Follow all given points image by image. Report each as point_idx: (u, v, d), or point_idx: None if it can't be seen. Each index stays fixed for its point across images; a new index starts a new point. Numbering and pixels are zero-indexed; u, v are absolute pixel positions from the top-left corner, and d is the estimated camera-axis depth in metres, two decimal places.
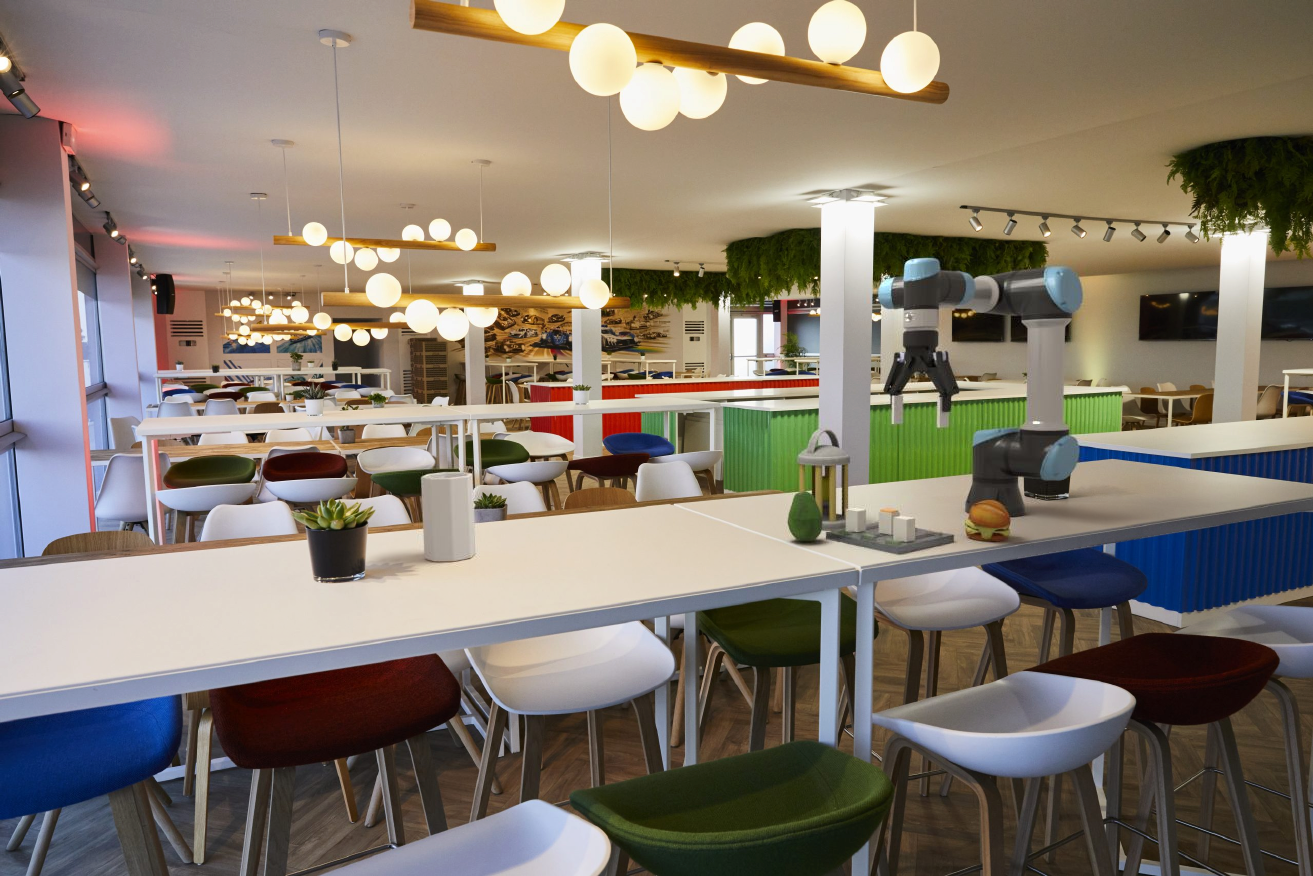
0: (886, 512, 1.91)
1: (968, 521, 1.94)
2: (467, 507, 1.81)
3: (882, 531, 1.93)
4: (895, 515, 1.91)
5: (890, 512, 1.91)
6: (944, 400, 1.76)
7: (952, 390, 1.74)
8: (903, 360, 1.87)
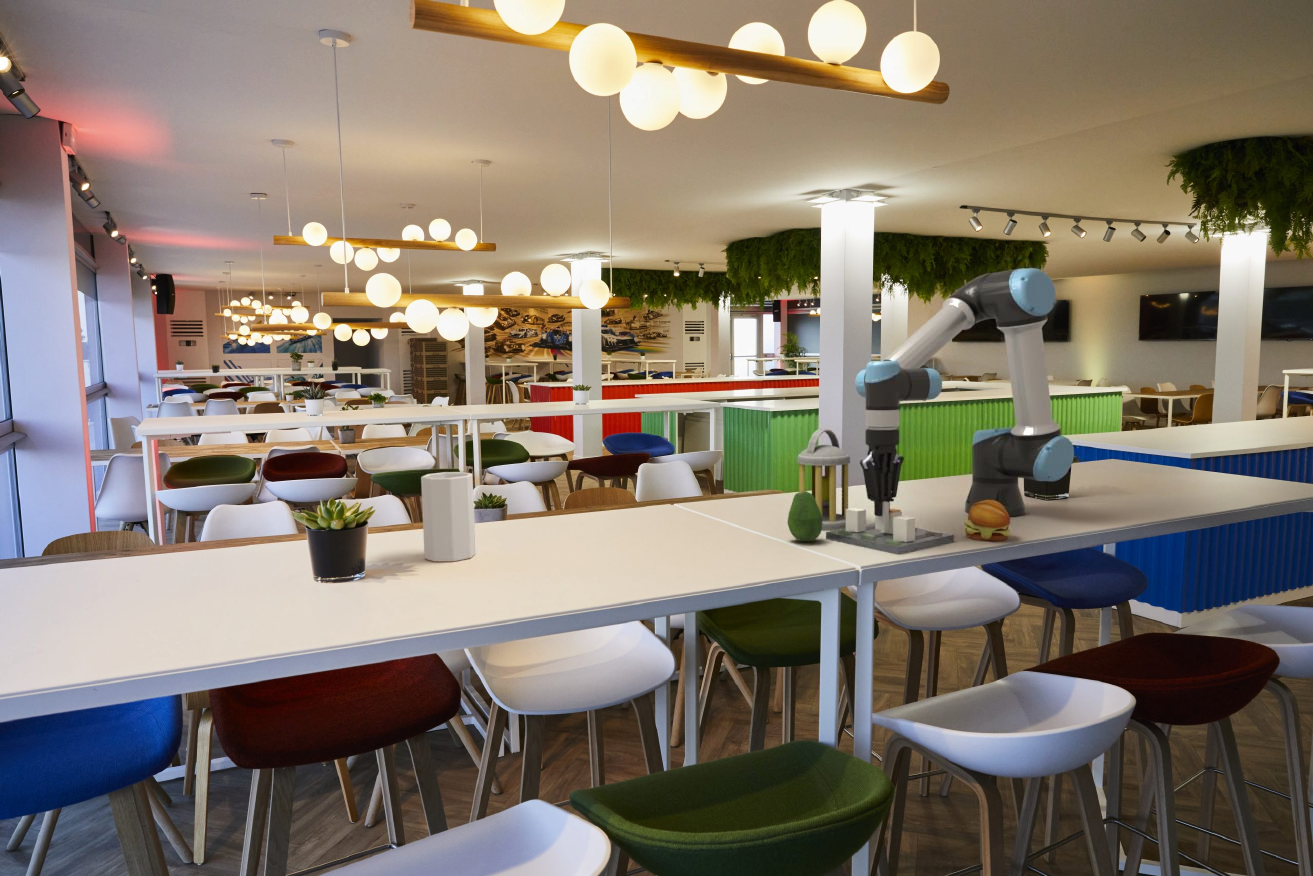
0: None
1: (968, 521, 1.94)
2: (467, 507, 1.81)
3: (884, 531, 1.93)
4: (897, 515, 1.92)
5: (892, 512, 1.91)
6: None
7: (868, 498, 1.89)
8: None
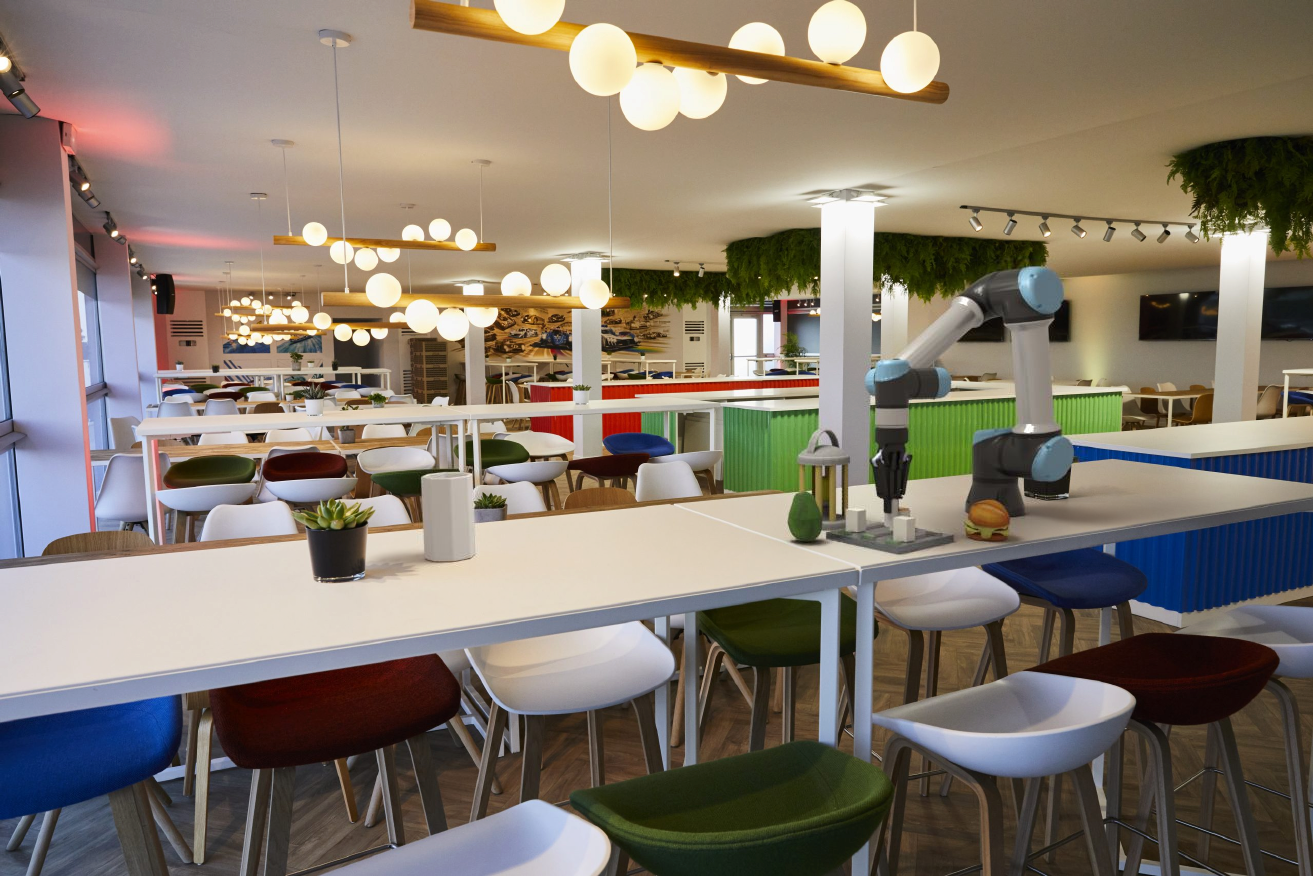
0: None
1: (968, 521, 1.94)
2: (467, 507, 1.81)
3: None
4: (906, 513, 1.93)
5: (901, 510, 1.93)
6: None
7: (878, 495, 1.91)
8: None
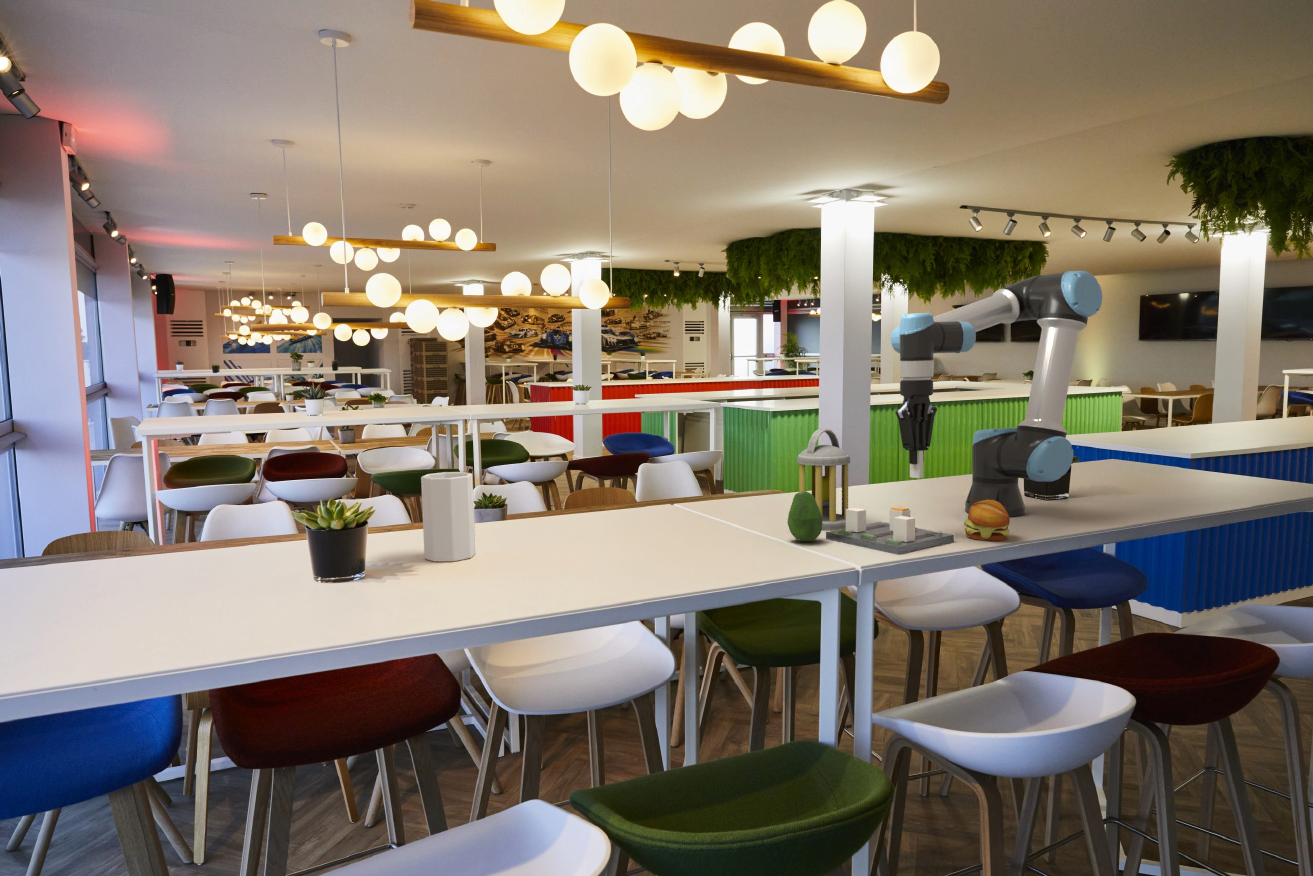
0: (897, 510, 1.94)
1: (967, 521, 1.95)
2: (467, 507, 1.81)
3: None
4: (906, 513, 1.93)
5: (901, 510, 1.93)
6: None
7: (903, 447, 1.95)
8: None
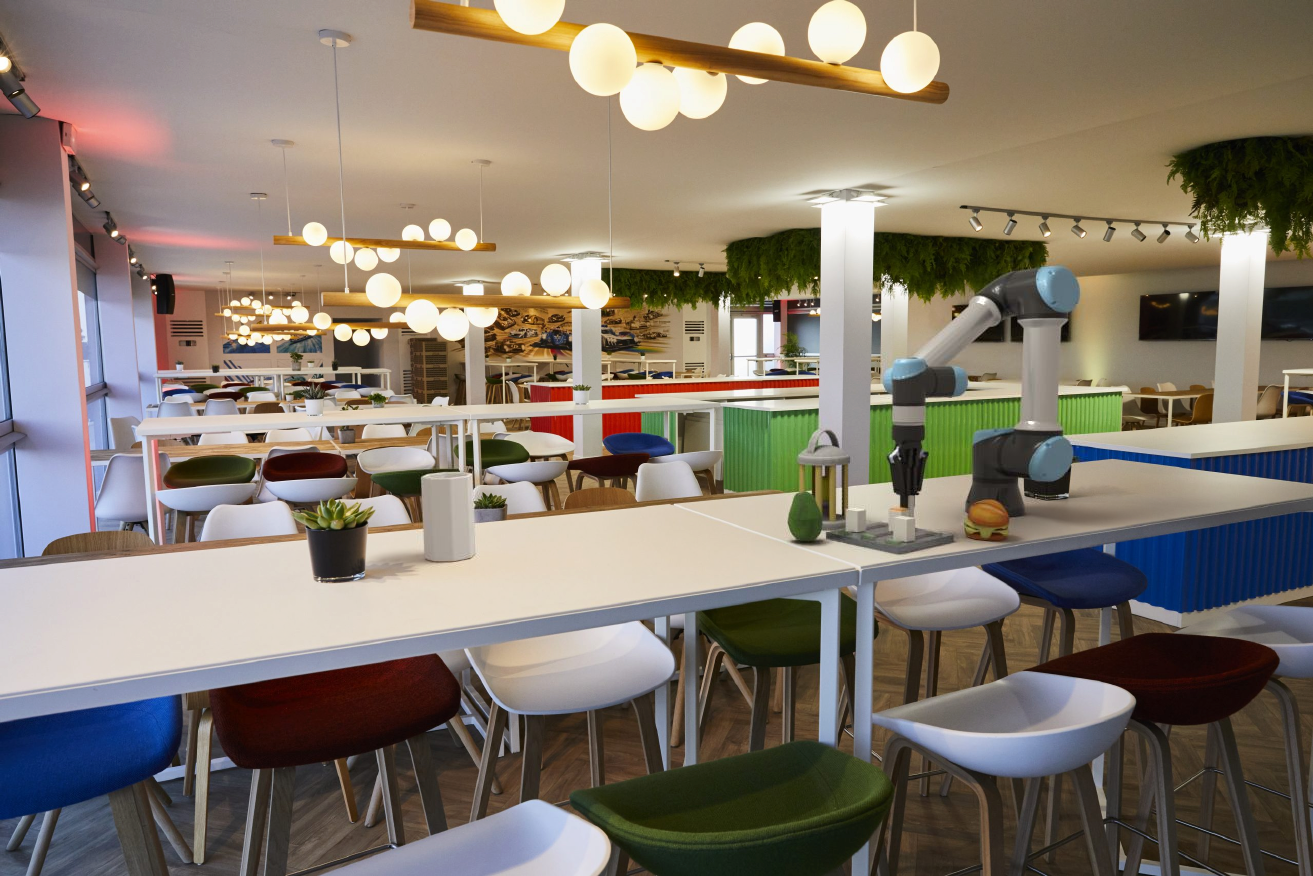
0: (896, 510, 1.94)
1: (967, 520, 1.95)
2: (467, 507, 1.81)
3: (892, 529, 1.95)
4: (905, 513, 1.93)
5: (900, 510, 1.93)
6: None
7: (894, 491, 1.95)
8: None
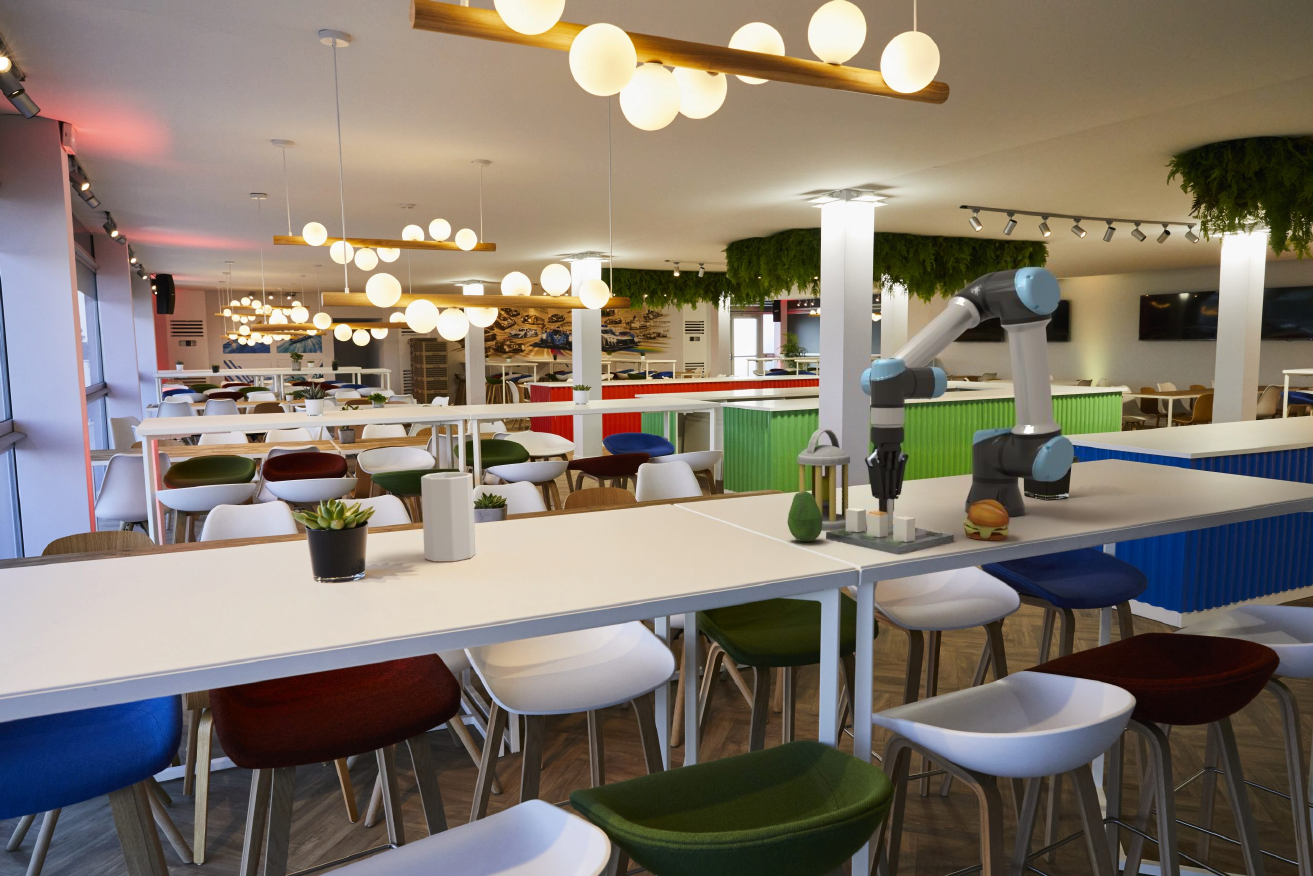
0: (874, 514, 1.89)
1: (967, 520, 1.95)
2: (467, 507, 1.81)
3: (870, 533, 1.90)
4: (883, 517, 1.89)
5: (878, 514, 1.88)
6: None
7: (873, 495, 1.90)
8: (897, 457, 1.93)
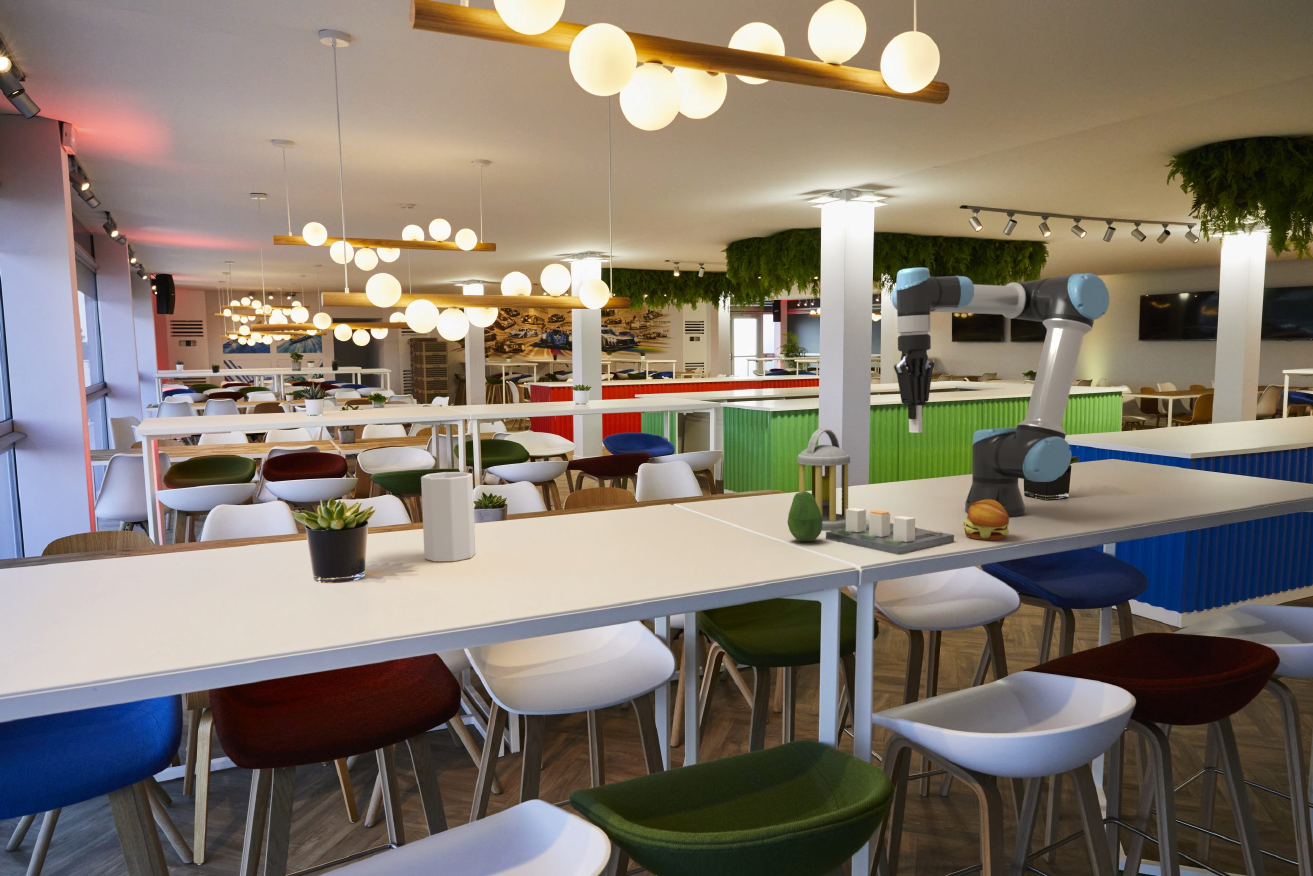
0: (876, 514, 1.89)
1: (967, 520, 1.95)
2: (467, 507, 1.81)
3: (872, 533, 1.91)
4: (885, 517, 1.89)
5: (880, 514, 1.89)
6: None
7: (902, 401, 1.96)
8: None
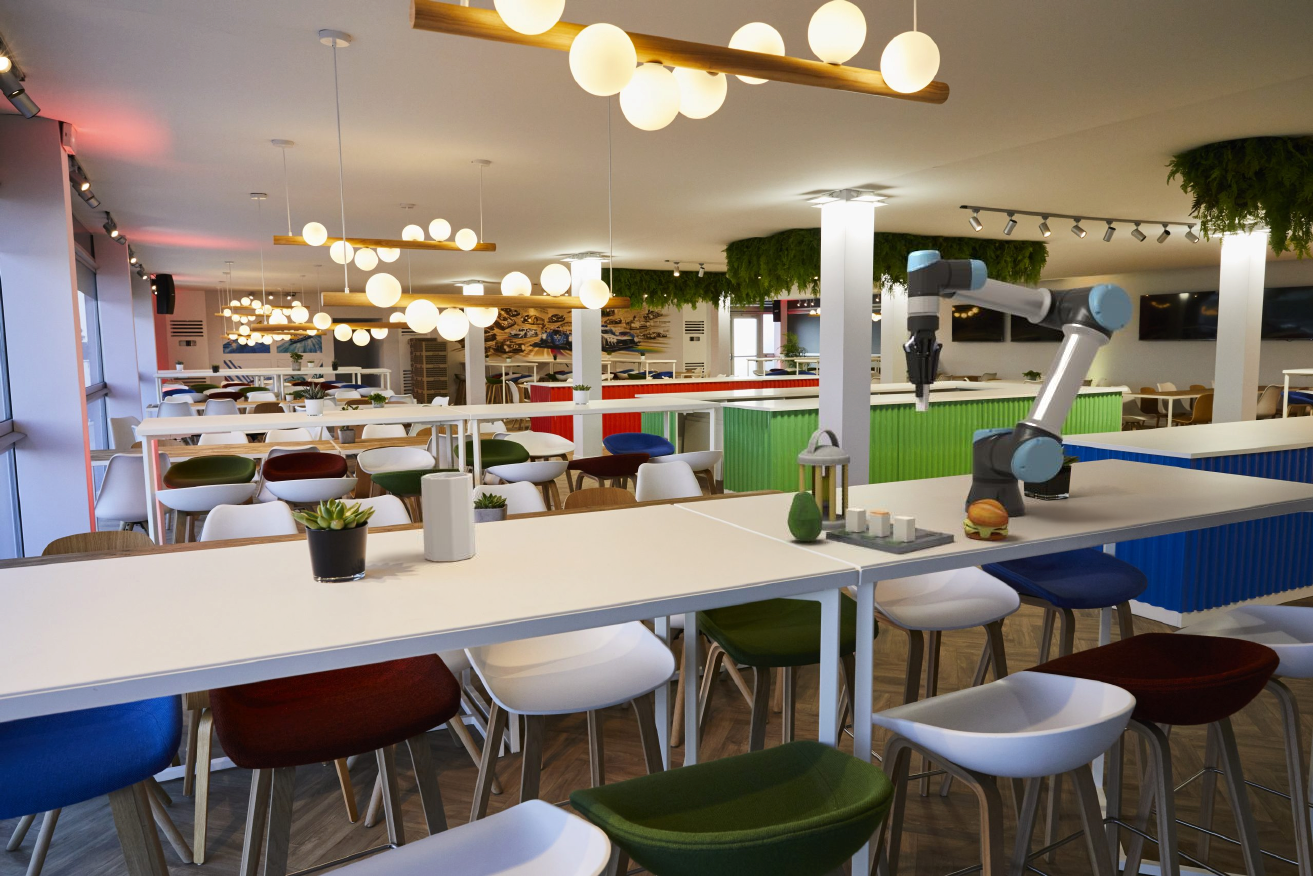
0: (876, 514, 1.89)
1: (967, 520, 1.95)
2: (467, 507, 1.81)
3: (872, 533, 1.91)
4: (885, 517, 1.89)
5: (880, 514, 1.89)
6: None
7: (910, 380, 2.02)
8: None
